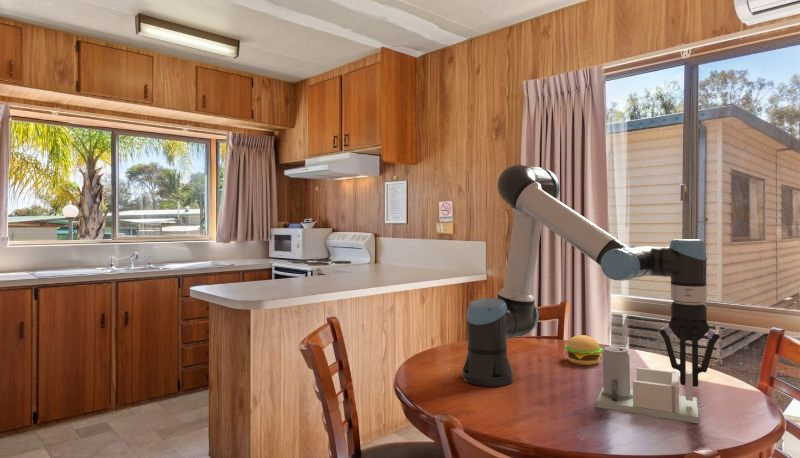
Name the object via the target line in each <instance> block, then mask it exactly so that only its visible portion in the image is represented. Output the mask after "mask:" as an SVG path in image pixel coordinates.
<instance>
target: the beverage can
mask: <svg viewBox="0 0 800 458" xmlns="http://www.w3.org/2000/svg"><path fill="white" fill-rule="evenodd" d="M603 349H604V350H603V352H602V380H603V381H602V383H603V384H602V386H603V387H602V388H603V391H604V392H605V393H606V394H607V395H608V396H611V397H612V380H617V381H618V398H624V397H627V396H628V395H629V394H630V389H631V375H630V374H631V368H630V366H631V364H630V362H631V361H630V353H629V350H628V348H625V347H622V346H621V347H620V346H605V347H604V348H603Z"/></svg>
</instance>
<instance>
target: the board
mask: <svg viewBox="0 0 800 458" xmlns="http://www.w3.org/2000/svg"><path fill="white" fill-rule="evenodd" d="M595 402H596V403H595V407H596V408H599V409H606V410H613V411H618V412H625V413H630V414H637V415H643V416H650V417H655V418H663V419H668V420H674V421H680V422H686V423H692V424H698V425H699V423H700V422H699V421H700V420H699V409H698V398H697V397H695V396H693V401H689V400H686V395H680V394H679V413H675V412H669V411H662V410H656V409H649V408H643V407H636V406H633V388H630V394H629V395H628V396H627V397H624V398H618V401H612V397H611V396H608V395H607V394H606V393H605V392H604V391H603V387H602V388H601V391H600V392H599V395H598V397H597V399H596V401H595Z"/></svg>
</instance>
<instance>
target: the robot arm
mask: <svg viewBox="0 0 800 458" xmlns="http://www.w3.org/2000/svg"><path fill="white" fill-rule="evenodd" d="M560 188H561V187H560V181H559V180H558V177H557V176H556V174H554V172H553V171H551V170H549V169H547V168H544V167H541V166H530V165H523V164H513V165H511V166H508V167H507V168H505V169H504V170H503V171H502V172H501V173H500V175H499V177H498V179H497V192H498V194H499V196H500V198H501V199H502V200H503V201H504V202H506V204H507V205H509V206H510V209H511V211H512V212H513V213H514V218H513V224H512V231H511V238H510V243H509V244H510V245H509V249H508V258H507V263H506V270H505V277H504V282H503V283H504V285H503V287H502V288H501V289H500V290H498V292H497V297H495V298H494V297H493V298H491V297H490V298H484V299H482V298H481V299H477V300H474V301H471V303H469V304H468V306H467V314H466V325H467V329H466V330H467V331H466V333H467V335H466V336H467V353H466V357H465V360H464V364H463V367H462V371H461V376H462V377H463V379H465V380H466V381H468V382H470V383H473V384H472V385H474V384H476V385H475V386H479V385H481V387H502V386H506V385H510V384H511V383H513V382H514V371H513V367H512V365H511V362H510V360H509V359H510V358H509V355H508V349H507V348H508V347H507V346H508V344H507V343H508V340H509V339H510V340H511V339H513V338H517V337H523V336H525V335H527V334H529V333H530V332H531V331H533V330H534V329H535V328H536V326H537V324H538V322H539V317H540V316H539V315H540V314H539V310H538V308H537V305H536V304H535V303H536V297H535V296H534V295H533V293H532V289H533V283H534V277H535V276H534V275H535V272H536V271H535V269H536V263H537V259H538V257H537V256H538V253H539V252H538V250H539V244H540V238H541V232H542V226H545V228H547V229H549V230H551V232H553V233H554V234H556V235H557V236H559V237H560V238H561V239H563V240H564V241H566V243H568V244H569V245H571V246H573V247H574V248H575V249H577V250H578V251H580V252H581V253H582V254H584V255H585V256H586V257H588V258H589V259H591V260H592V261H593V262H595V263H596V264H598V265H599V266H600V268H601V271H602V272H603V275H605V276H606V277H607V278H608V279H610V280H613V281H629V280H632V279H637V278H642V277H650V276H651V277H666V278H667V277H668V278H670V300H671V301H672V302H671V303H670V320H669V321H668V325H665V326H664V327H660V328H659V331H658V332H659V334H660V336H661V337H662V338H663V340H664V344H665V348H666V351H667V355H668V358H669V362H670V365H671V368H672V369H673V370H677V371H678V372H679V385H681V386H685V396H686V400H689V401H693V397H694V391H693V390H694V389H693V388H694V387H696V388H698V386H699V375H700V374H701V373H706V372H708V369H709V364H710V361H711V357H712V355H713V351H714V347H715V344H716V342H717V341H718V340H719V339H720V338H721V336H720V333H719V332H717V331H714V330H713V329H712V328H710V326H709V323H708V319H707V317H708V315H707V311H708V310H707V305H706V304H705V303H706V302H707V297H708V296H707V260H708V258H707V248H706V243H705V241H704V240H702V239H700V238H699V239H698V238H697V239H695V238H694V239H692V238H691V239H689V238H687V239H686V238H685V239H682V238H680V239H679V238H677V239H674V238H673V239H672V240H671V241H670V244H669V246H641V245H631V246H630V245H626V244H625V243H623V242H621V241H620V240H618V239H617V238H616V237H614V236H613V235H611V234H609V233H608V232H607V231H605V230H603V229H602V228H601V227H599V226H597V225H596V224H595V223H593V222H592V221H590V220H588V219H587V218H585V217H584V216H583V215H582V214H579V213H578V212H576V211H575V210H574V209H573V208H571V207H569V206H568V205H566V204H564V203H563V202H561V201H560V200H559V199H558V197H559V195H560ZM671 331H672V332H673V334H674V335H675V336H676V337H677V338H678V339H679V363H678V361H677V358H676V355H675V350H674V347H673V344H672V339H671V337H670V336H671ZM706 334H707V339H708V340H707V343H706V347H705V351H704V354H703V357H702V361H701V365H699V341H701V339H702V338H703V337H704V336H705V335H706ZM686 341H690V342H691V370H687V368H686V367H687V366H686V364H687V363H686V362H687V361H686V360H687V359H686V358H687V355H686V354H687V353H686V351H687V350H686V349H687V348H686V347H687V345H686V343H687V342H686ZM462 377H461V378H462ZM463 379H462V380H463ZM466 381H465V382H466ZM468 382H467V383H468ZM470 383H469V384H470Z"/></svg>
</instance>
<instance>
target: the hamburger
mask: <svg viewBox="0 0 800 458" xmlns="http://www.w3.org/2000/svg"><path fill="white" fill-rule="evenodd" d="M564 349H565V353H566V355H567V359H568V361H569V362H570V363H573V364H576V365H581V366H594V365H596V364H598V363H600V358H603V353H602V351H603V348H602V346H601V347H600V344H599V342H598V340H596V339H595V338H594V337H591V336H589V335H586V334H585V335H584V334H583V335H582V334H579V335H575V336H572V337H571V338H569V340H568V341H567V344H565V345H564Z"/></svg>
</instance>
